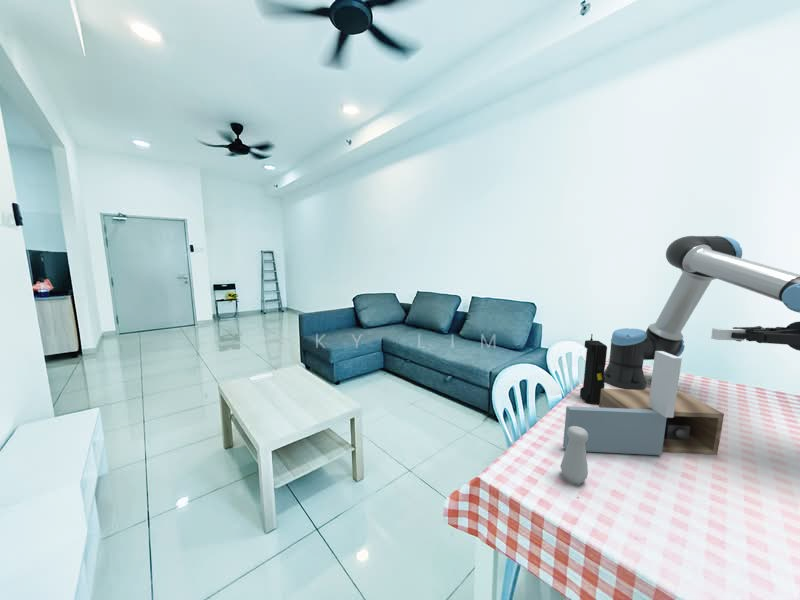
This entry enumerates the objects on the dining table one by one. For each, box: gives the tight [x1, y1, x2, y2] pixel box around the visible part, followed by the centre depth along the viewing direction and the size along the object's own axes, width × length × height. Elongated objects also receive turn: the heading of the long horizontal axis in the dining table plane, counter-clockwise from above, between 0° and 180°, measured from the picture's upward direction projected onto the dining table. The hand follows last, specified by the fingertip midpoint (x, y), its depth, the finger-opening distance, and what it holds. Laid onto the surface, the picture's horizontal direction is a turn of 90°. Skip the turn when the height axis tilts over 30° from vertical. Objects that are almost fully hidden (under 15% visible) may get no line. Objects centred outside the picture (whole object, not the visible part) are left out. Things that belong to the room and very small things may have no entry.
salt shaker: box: [559, 426, 589, 486], centre depth 73 cm, size 6×6×13 cm
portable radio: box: [579, 334, 608, 405], centre depth 113 cm, size 8×6×25 cm
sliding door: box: [562, 351, 683, 456], centre depth 82 cm, size 25×6×28 cm, turn 86°
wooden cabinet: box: [598, 388, 725, 456], centre depth 90 cm, size 24×14×12 cm, turn 86°
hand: (714, 334), depth 78 cm, fingers closed
